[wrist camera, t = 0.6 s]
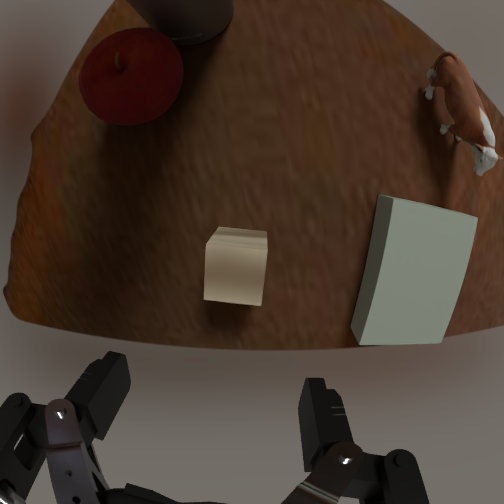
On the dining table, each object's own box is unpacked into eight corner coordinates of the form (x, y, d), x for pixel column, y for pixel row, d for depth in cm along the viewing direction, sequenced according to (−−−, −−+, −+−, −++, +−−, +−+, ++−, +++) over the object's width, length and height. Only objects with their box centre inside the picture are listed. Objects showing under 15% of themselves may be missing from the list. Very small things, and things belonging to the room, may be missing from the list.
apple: (182, 138, 27) (145, 125, 18) (106, 126, 27) (52, 117, 17) (207, 57, 25) (183, 14, 15) (130, 51, 24) (86, 19, 15)
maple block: (218, 226, 30) (205, 244, 23) (266, 231, 30) (267, 250, 23) (215, 271, 31) (203, 299, 25) (261, 276, 31) (261, 305, 25)
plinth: (378, 194, 28) (393, 198, 24) (458, 211, 28) (477, 218, 24) (350, 326, 33) (359, 344, 29) (427, 327, 33) (440, 343, 29)
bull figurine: (444, 174, 27) (488, 180, 19) (411, 66, 23) (447, 44, 16) (468, 168, 26) (511, 172, 19) (437, 64, 23) (475, 47, 15)
